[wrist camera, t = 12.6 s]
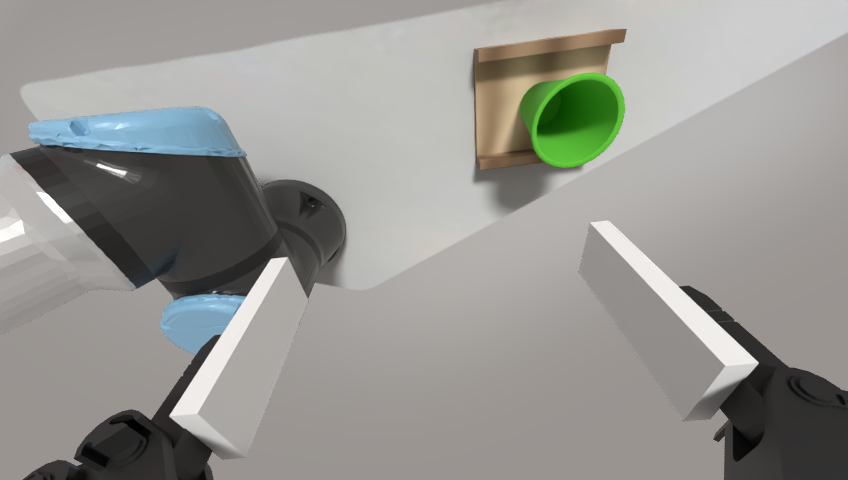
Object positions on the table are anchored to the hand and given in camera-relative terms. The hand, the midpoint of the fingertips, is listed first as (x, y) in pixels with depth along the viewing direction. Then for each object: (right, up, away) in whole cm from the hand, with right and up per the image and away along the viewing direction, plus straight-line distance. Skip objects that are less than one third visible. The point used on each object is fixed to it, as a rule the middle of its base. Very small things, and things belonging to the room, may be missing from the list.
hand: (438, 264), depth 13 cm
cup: (+14, +19, +25) cm, 35 cm away
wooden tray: (+14, +19, +26) cm, 35 cm away
